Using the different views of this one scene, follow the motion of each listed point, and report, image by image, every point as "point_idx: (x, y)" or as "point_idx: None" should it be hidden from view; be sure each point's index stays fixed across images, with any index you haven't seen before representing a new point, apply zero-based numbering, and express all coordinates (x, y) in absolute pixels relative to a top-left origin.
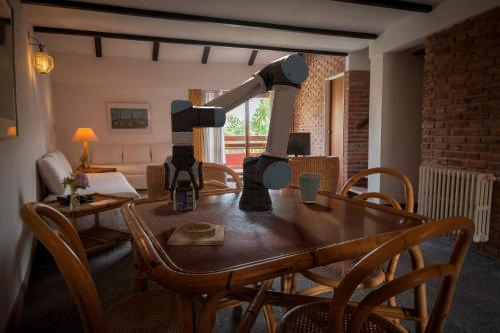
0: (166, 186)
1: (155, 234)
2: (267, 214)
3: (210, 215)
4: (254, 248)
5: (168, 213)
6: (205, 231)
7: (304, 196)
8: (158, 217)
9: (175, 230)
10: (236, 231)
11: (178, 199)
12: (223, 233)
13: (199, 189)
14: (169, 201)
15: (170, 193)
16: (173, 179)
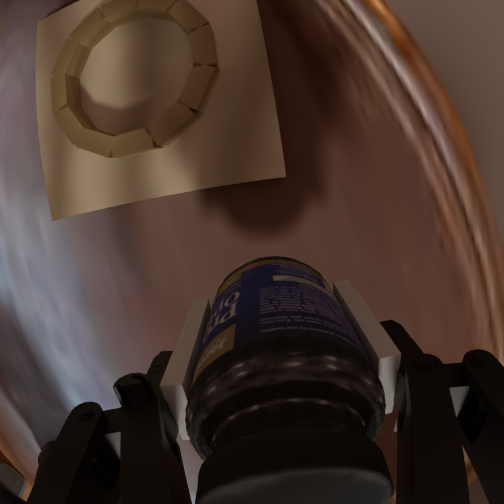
0: (489, 374)
1: (363, 75)
2: (23, 406)
3: None
4: None
5: (387, 414)
6: (84, 20)
7: (7, 480)
8: None
9: (265, 80)
10: (19, 190)
11: (324, 299)
12: (37, 98)
13: (115, 411)
14: (391, 499)
15: (420, 352)
16: (457, 465)
